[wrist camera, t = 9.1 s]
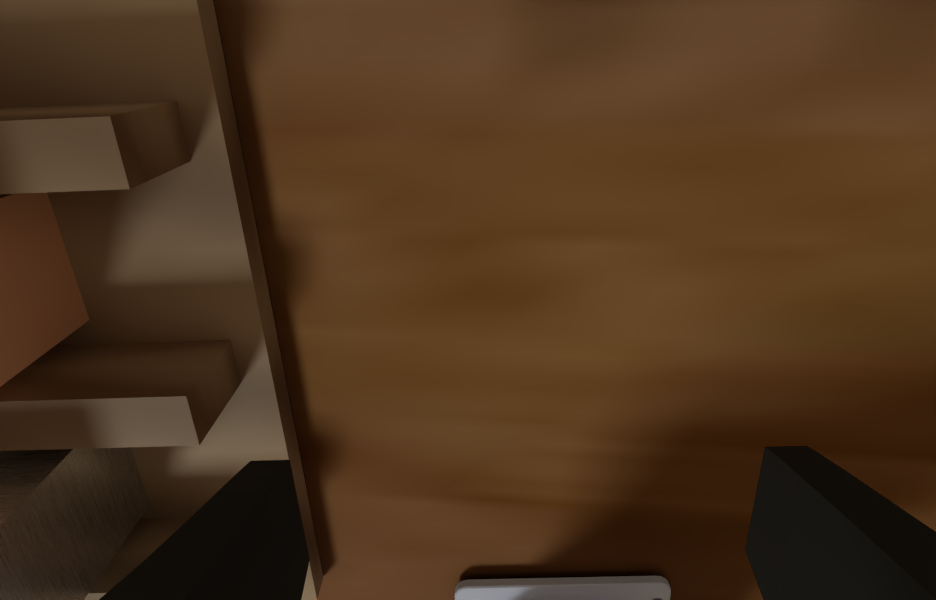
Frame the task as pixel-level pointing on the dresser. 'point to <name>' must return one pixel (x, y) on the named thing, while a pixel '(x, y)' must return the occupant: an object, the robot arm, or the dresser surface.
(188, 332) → the cable comb
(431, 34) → the dresser surface
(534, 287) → the dresser surface
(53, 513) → the grey plug
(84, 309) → the terracotta plug
